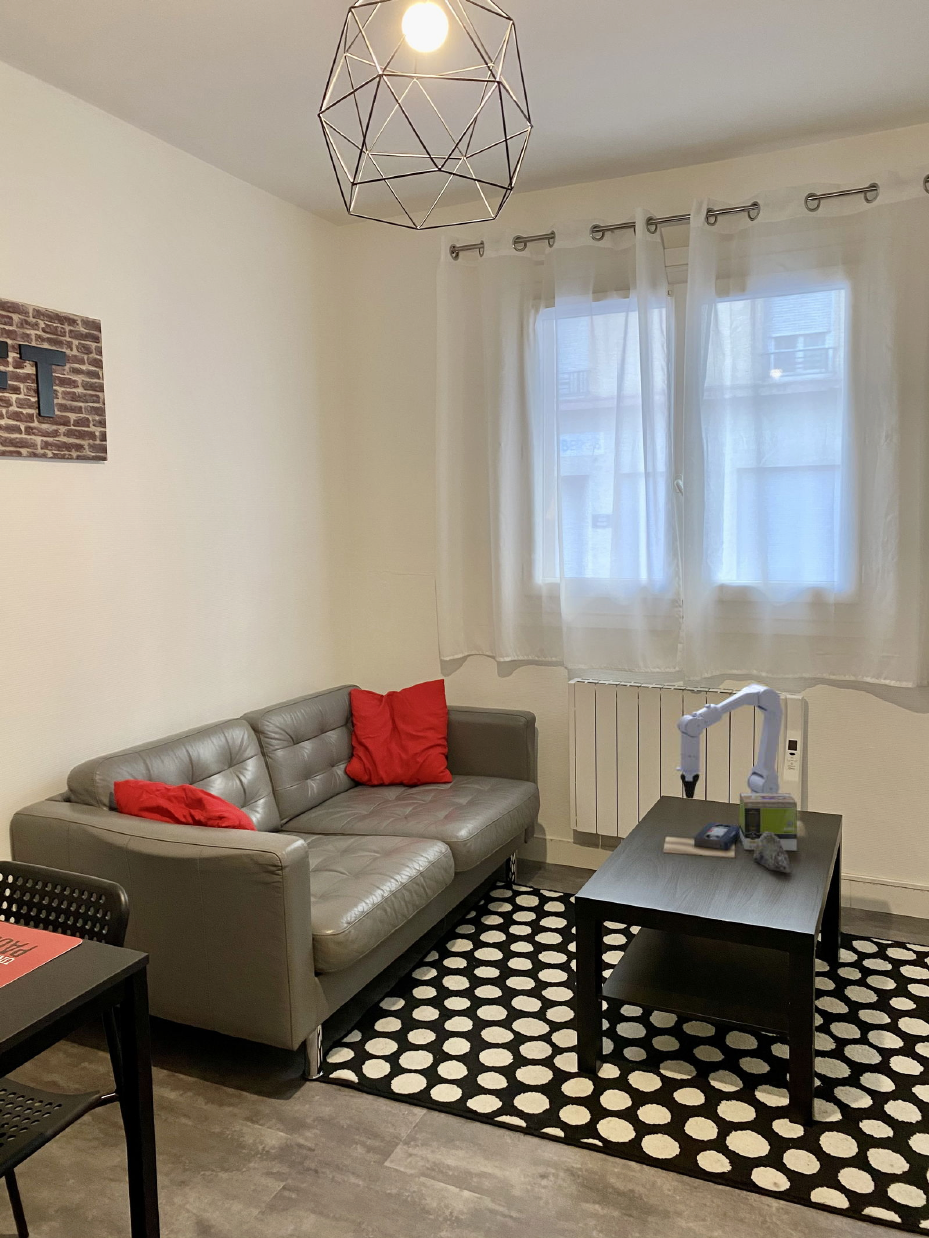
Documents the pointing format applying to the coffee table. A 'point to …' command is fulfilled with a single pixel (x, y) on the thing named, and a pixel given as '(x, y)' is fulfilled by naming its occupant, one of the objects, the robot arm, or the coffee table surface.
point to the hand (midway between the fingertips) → (689, 797)
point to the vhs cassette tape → (717, 836)
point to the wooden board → (695, 848)
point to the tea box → (768, 818)
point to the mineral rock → (771, 853)
